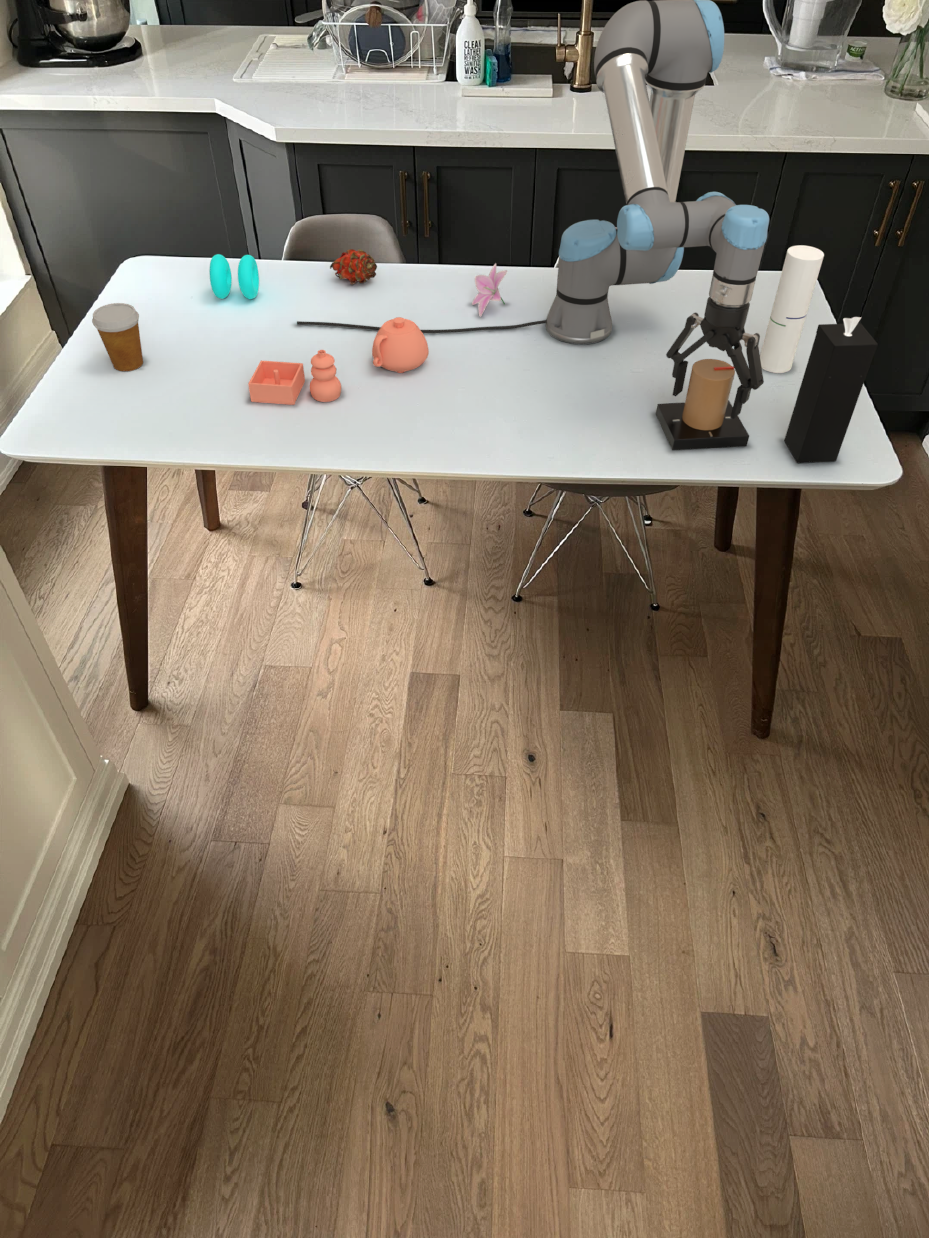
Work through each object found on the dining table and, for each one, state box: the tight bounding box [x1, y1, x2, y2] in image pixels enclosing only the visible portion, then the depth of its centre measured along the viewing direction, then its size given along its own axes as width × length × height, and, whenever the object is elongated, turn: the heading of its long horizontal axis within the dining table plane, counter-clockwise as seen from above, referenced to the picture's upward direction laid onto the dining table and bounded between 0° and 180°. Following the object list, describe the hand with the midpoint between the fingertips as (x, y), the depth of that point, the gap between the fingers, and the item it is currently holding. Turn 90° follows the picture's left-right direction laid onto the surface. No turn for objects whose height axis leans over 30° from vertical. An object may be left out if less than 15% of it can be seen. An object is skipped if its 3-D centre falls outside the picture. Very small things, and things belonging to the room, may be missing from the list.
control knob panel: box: [655, 399, 750, 451], centre depth 183 cm, size 15×13×3 cm
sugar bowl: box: [371, 316, 430, 374], centre depth 198 cm, size 12×14×10 cm
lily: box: [471, 262, 508, 318], centre depth 218 cm, size 12×12×10 cm
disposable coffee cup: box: [91, 302, 144, 372], centre depth 196 cm, size 10×10×12 cm
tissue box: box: [783, 316, 879, 464], centre depth 169 cm, size 8×8×28 cm
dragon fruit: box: [329, 248, 378, 286], centre depth 228 cm, size 8×8×12 cm
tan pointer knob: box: [682, 358, 736, 430], centre depth 178 cm, size 8×8×11 cm
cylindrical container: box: [759, 244, 825, 374], centre depth 194 cm, size 7×7×25 cm
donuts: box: [209, 253, 260, 300], centre depth 220 cm, size 10×10×10 cm
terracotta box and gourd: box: [247, 349, 342, 406], centre depth 189 cm, size 18×10×10 cm, turn 83°
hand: (705, 404), depth 180 cm, fingers open, 12 cm apart
